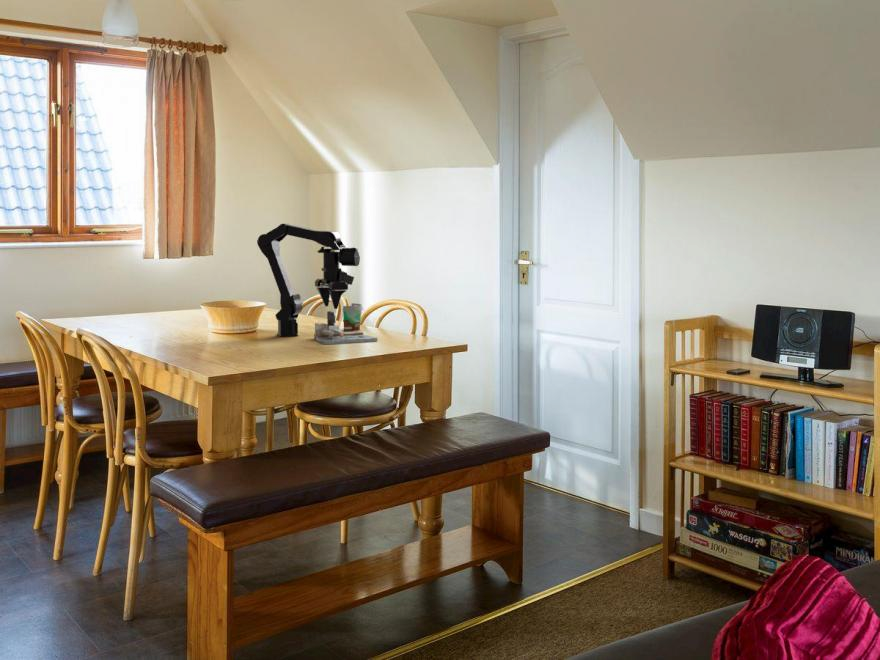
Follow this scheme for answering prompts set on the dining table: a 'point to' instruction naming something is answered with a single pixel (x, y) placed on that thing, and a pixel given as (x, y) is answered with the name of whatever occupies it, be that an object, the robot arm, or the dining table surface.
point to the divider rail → (322, 331)
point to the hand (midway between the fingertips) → (331, 307)
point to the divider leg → (333, 324)
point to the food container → (352, 317)
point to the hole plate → (346, 339)
